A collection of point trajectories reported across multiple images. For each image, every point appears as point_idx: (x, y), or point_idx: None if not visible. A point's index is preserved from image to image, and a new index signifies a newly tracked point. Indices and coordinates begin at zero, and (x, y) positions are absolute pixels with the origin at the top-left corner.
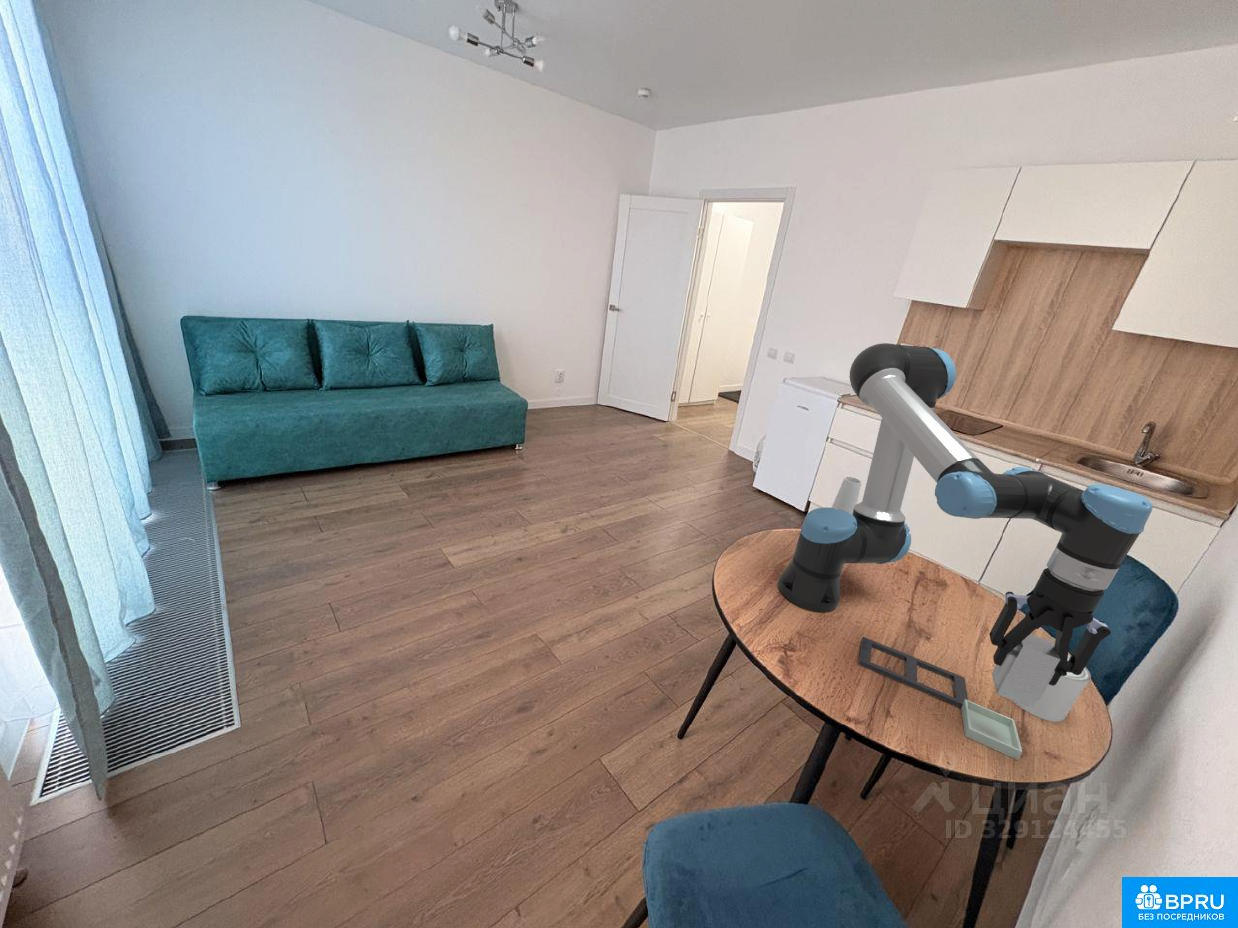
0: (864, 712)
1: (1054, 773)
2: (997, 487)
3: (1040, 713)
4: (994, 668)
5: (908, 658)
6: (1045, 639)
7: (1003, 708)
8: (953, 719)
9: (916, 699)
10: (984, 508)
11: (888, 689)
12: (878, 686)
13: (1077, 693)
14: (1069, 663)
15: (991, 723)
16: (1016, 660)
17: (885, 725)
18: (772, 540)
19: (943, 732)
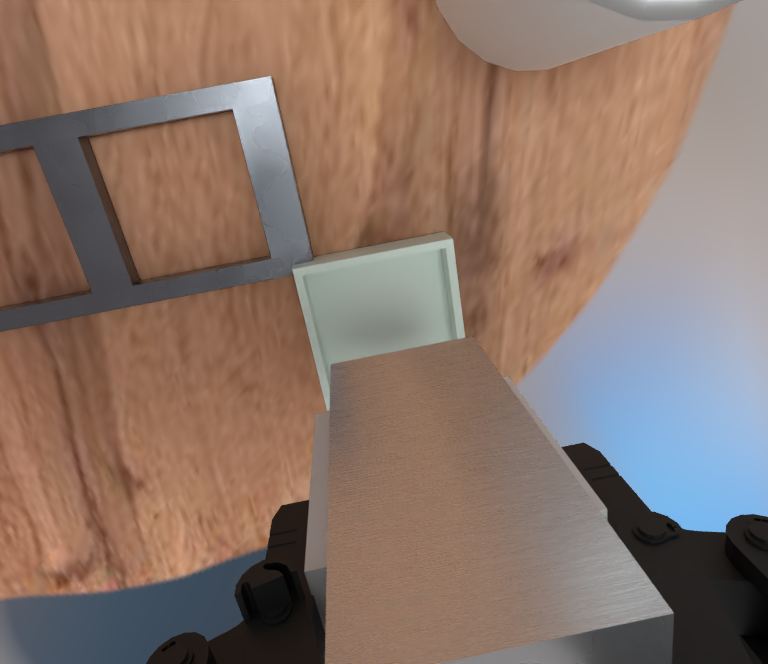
0: (78, 529)
1: (550, 336)
2: None
3: (548, 67)
4: (315, 438)
5: (44, 150)
6: (602, 629)
7: (425, 133)
8: (287, 348)
9: (168, 352)
10: None
11: (81, 382)
12: (51, 395)
13: None
14: (734, 604)
15: (389, 279)
16: None
17: (142, 526)
18: None
19: (274, 427)
